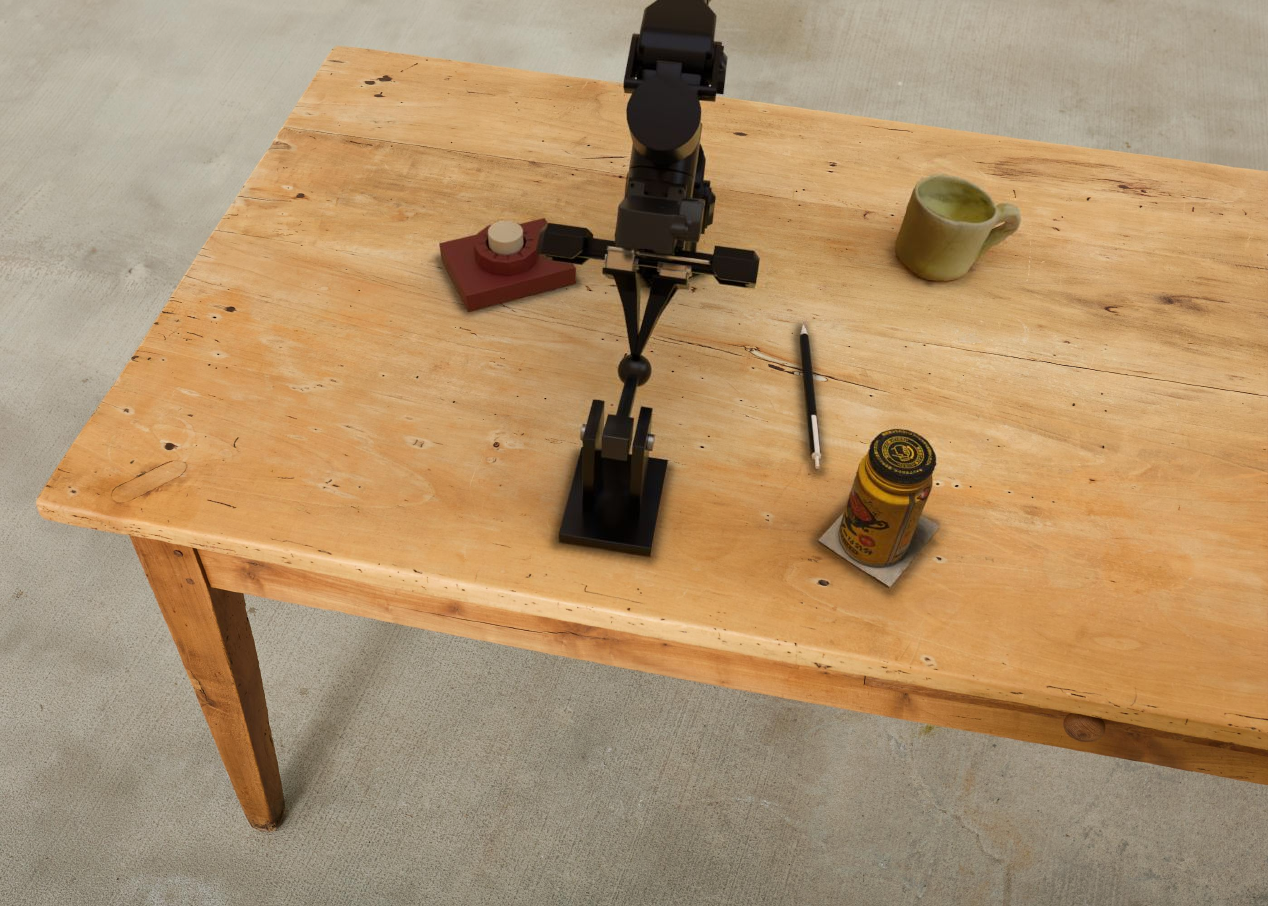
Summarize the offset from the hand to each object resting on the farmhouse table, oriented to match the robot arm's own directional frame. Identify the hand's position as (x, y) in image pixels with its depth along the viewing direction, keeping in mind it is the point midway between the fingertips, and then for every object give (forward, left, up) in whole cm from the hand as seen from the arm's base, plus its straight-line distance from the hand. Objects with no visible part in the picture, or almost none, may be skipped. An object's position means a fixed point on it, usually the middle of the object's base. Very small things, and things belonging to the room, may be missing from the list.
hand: (635, 356), depth 92 cm
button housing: (+3, -26, -10) cm, 28 cm away
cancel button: (+3, -26, -6) cm, 26 cm away
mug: (-43, -10, -10) cm, 45 cm away
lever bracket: (+5, +7, -10) cm, 13 cm away
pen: (-18, +2, -10) cm, 21 cm away
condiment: (-15, +19, -10) cm, 26 cm away
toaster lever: (+3, +4, -3) cm, 5 cm away
